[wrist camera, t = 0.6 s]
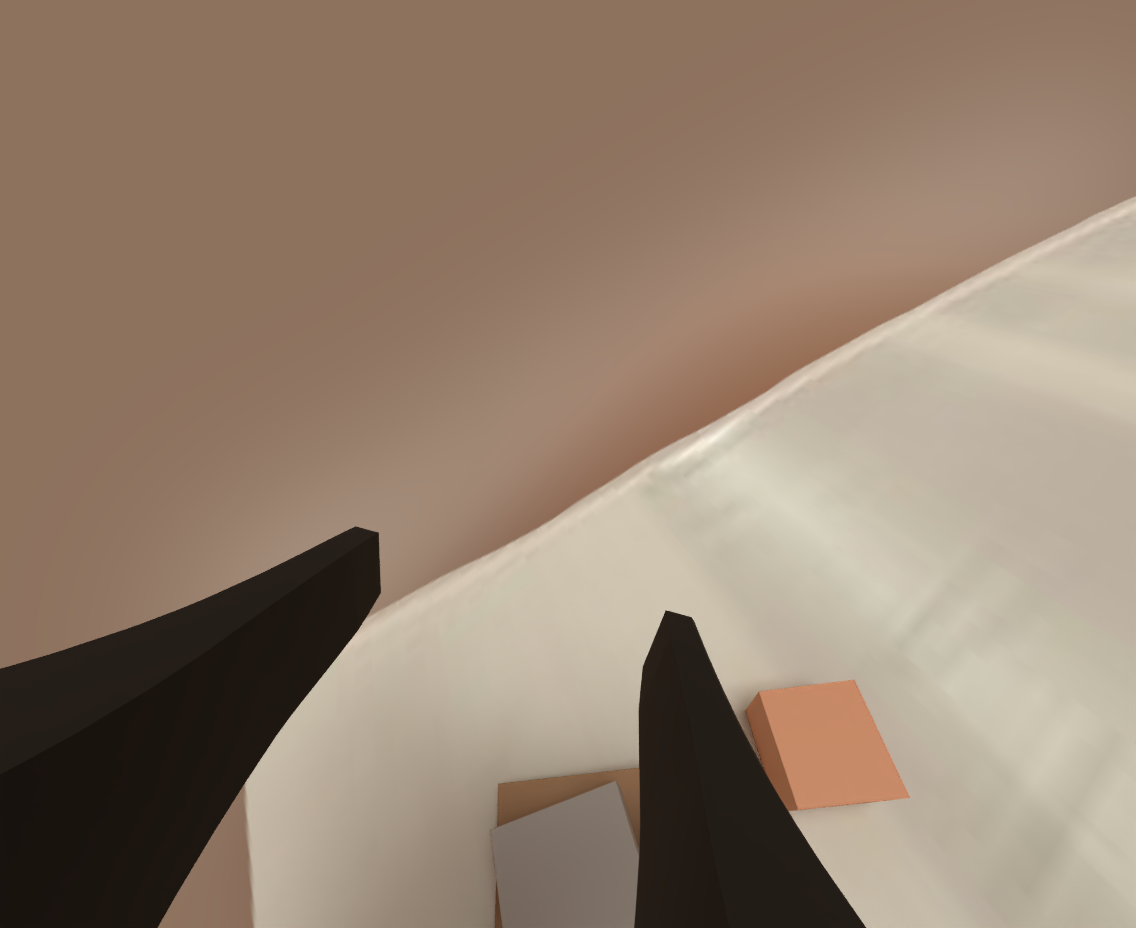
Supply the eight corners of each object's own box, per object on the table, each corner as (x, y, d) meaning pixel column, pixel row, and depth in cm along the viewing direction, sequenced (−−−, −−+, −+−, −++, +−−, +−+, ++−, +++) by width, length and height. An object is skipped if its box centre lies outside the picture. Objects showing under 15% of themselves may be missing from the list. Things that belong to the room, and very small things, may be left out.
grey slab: (672, 959, 18) (673, 974, 16) (533, 1018, 17) (517, 1040, 15) (619, 785, 22) (615, 780, 20) (505, 830, 21) (490, 830, 19)
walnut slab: (690, 997, 19) (693, 1017, 17) (509, 1011, 19) (492, 1031, 17) (652, 771, 24) (651, 766, 22) (511, 787, 24) (498, 783, 23)
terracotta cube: (870, 802, 21) (909, 797, 18) (776, 812, 22) (798, 809, 18) (827, 700, 24) (854, 679, 21) (745, 710, 25) (758, 691, 21)
